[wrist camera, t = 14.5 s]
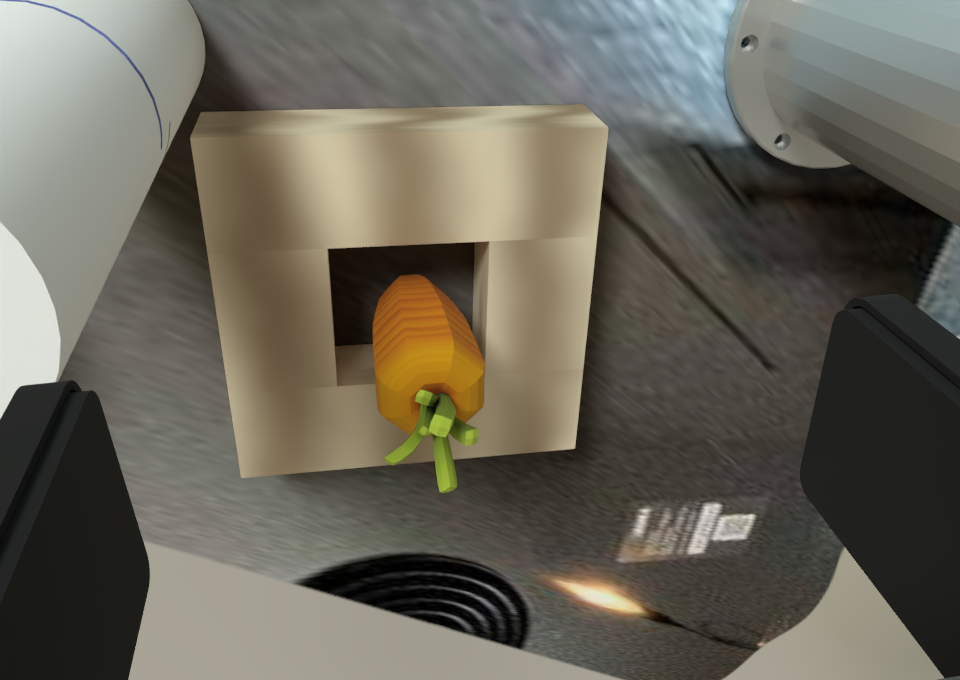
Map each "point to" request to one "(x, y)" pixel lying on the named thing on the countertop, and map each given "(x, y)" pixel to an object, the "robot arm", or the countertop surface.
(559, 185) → the maple block
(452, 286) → the countertop surface
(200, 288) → the countertop surface
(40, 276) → the cylindrical container
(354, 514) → the countertop surface
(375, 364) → the carrot
